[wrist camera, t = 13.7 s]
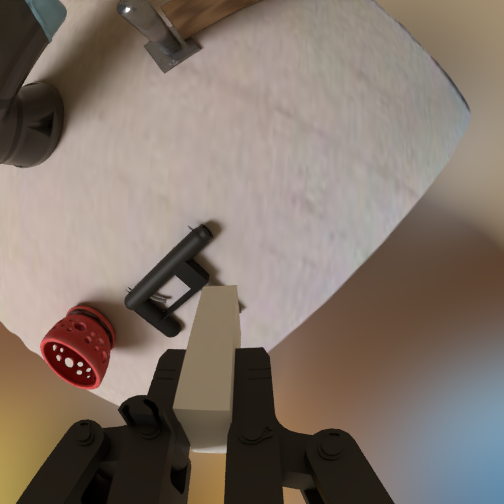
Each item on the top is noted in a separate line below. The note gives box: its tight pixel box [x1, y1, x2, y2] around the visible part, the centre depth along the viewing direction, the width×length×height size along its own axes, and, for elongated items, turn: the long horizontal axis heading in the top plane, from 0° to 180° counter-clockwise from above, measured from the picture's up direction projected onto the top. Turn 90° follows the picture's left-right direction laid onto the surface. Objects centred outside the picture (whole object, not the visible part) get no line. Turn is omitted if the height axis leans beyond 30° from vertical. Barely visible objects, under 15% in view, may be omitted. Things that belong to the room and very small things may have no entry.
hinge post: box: [117, 0, 200, 73], centre depth 23 cm, size 6×6×16 cm
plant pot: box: [40, 306, 116, 389], centre depth 43 cm, size 13×13×12 cm
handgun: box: [125, 225, 241, 337], centre depth 44 cm, size 3×20×16 cm
